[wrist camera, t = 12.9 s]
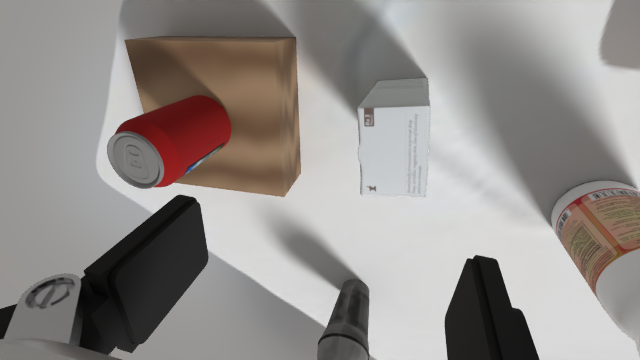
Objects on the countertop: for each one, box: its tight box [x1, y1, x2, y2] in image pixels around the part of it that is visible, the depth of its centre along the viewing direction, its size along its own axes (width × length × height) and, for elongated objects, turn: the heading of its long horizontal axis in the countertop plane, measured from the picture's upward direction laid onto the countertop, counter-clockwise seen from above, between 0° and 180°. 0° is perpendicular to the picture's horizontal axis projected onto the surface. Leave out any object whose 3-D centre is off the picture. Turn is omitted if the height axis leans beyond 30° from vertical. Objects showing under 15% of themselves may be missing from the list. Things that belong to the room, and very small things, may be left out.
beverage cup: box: [317, 280, 369, 360], centre depth 45 cm, size 7×7×20 cm
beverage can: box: [107, 95, 231, 189], centre depth 33 cm, size 7×7×12 cm
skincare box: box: [357, 78, 430, 198], centre depth 32 cm, size 8×6×15 cm
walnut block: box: [125, 36, 301, 197], centre depth 41 cm, size 18×18×7 cm
